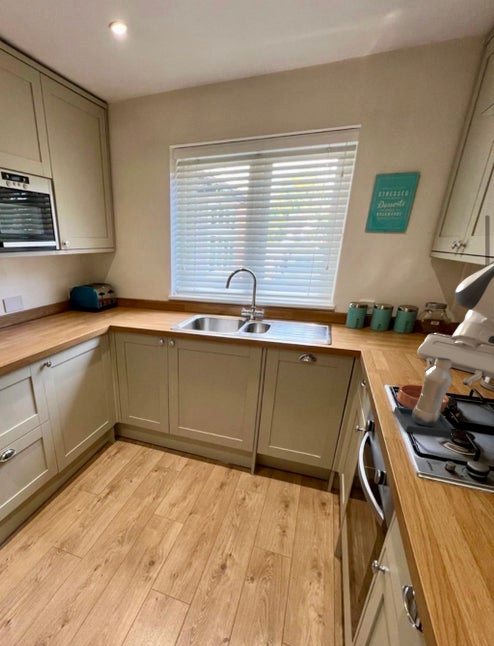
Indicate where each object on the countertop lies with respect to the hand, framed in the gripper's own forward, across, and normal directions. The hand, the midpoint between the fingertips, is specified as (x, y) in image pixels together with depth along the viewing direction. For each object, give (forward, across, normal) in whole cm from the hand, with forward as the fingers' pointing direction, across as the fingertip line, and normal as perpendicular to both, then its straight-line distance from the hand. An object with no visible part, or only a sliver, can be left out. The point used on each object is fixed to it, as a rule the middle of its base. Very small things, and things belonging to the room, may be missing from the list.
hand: (445, 378), depth 95 cm
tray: (+14, 0, +5) cm, 15 cm away
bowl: (+4, -6, +14) cm, 16 cm away
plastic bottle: (+14, 0, +5) cm, 14 cm away
